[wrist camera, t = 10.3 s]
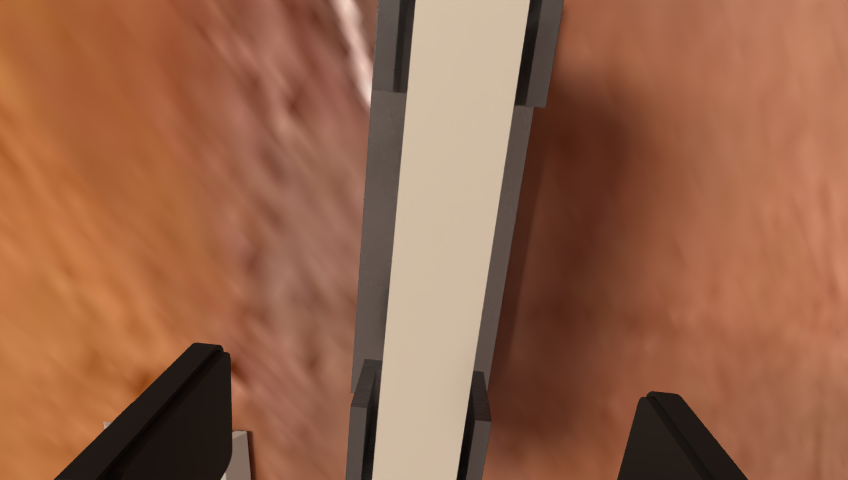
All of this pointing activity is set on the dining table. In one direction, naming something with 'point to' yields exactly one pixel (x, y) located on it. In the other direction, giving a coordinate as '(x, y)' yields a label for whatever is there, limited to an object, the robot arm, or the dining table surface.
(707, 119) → the dining table surface
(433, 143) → the rail
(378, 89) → the bracket stand
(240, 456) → the crown molding
